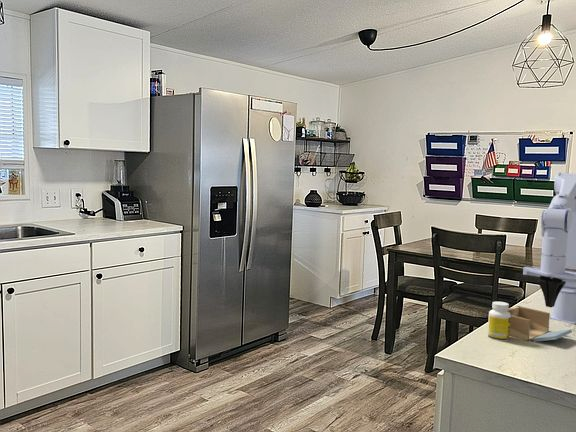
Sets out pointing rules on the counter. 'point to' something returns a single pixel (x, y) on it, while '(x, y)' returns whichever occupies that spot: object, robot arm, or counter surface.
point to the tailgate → (552, 335)
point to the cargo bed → (528, 323)
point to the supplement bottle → (499, 322)
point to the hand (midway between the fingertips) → (550, 306)
